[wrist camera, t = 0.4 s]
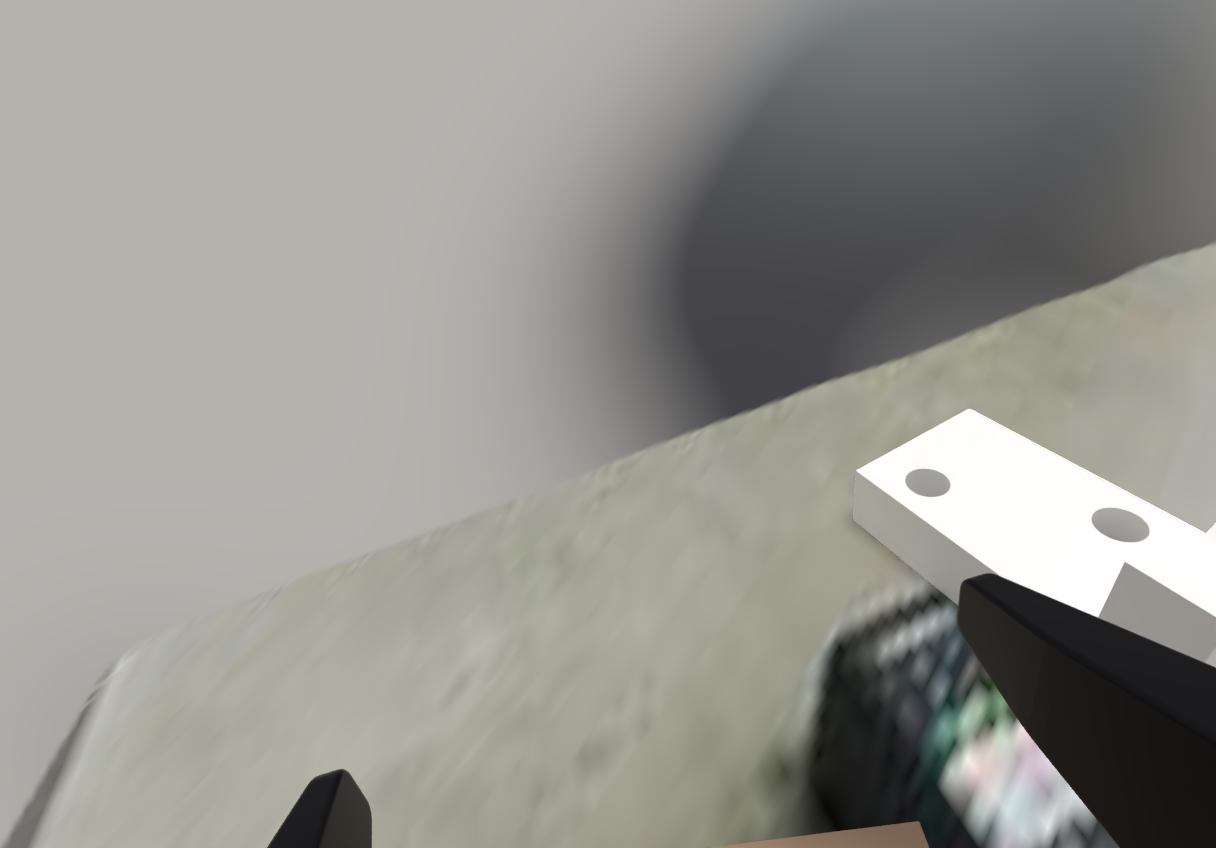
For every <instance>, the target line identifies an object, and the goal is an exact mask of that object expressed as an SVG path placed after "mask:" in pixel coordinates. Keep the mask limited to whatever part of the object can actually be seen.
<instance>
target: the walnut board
mask: <svg viewBox="0 0 1216 848" xmlns="http://www.w3.org/2000/svg"><path fill="white" fill-rule="evenodd" d="M709 848H929V846H928V843H927V841H926V838H925V836H924V833H923V831H922V828H921V826H920V823H919V821H918V822H910V823H902V824H893V825H885V826H877V827H869V828H861V829H853V830H845V831H837V832H829V833H821V834H813V835H805V836H797V837H789V838H781V839H773V840H765V841H757V842H749V843H741V844H733V845H725V846H717V847H709Z"/></svg>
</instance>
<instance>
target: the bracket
mask: <svg viewBox="0 0 1216 848" xmlns="http://www.w3.org/2000/svg"><path fill="white" fill-rule="evenodd" d="M852 520H854V521H855V522H856V523H857V524H858V525H860V526H861V527H862V528H863V529H865V530H866V531H867V532H868V533H870V534H871V535H872V536H873V537H874V538H876V539H877V540H878V541H879V542H881V543H882V544H883V545H884V546H886V547H887V548H888V549H889V550H890V551H892V552H893V553H894V554H895V555H897V556H898V557H899V558H900V559H901V560H903V561H904V562H905V563H906V564H908V565H909V566H910V567H911V568H913V569H914V570H915V571H916V572H917V573H919V574H920V575H921V576H922V577H924V578H925V579H926V580H927V581H929V582H930V583H931V584H932V585H933V586H935V587H936V588H937V589H938V590H940V591H941V592H942V593H943V594H945V595H946V596H947V597H948V598H949V599H951V600H952V601H953V602H954V603H956V604H957V605H958V602H959V592H960V585H961V583H962V582H963V581H964V580H965V579H967V578H971V577H974V576H977V575H981V574H984V573H992V574H996V575H999V576H1001V577H1003V578H1006V579H1008V580H1010V581H1013V582H1015V583H1018V584H1020V585H1022V586H1025V587H1027V588H1029V589H1032V590H1034V591H1036V592H1039V593H1041V594H1044V595H1046V596H1048V597H1051V598H1053V599H1055V600H1058V601H1060V602H1063V603H1065V604H1067V605H1070V606H1072V607H1074V608H1077V609H1079V610H1081V611H1084V612H1086V613H1089V614H1091V615H1093V616H1096V617H1098V618H1100V619H1103V620H1105V621H1107V622H1110V623H1112V624H1115V625H1117V626H1119V627H1122V628H1124V629H1126V630H1129V631H1131V632H1134V633H1136V634H1138V635H1141V636H1143V637H1145V638H1148V639H1150V640H1152V641H1155V642H1157V643H1160V644H1162V645H1164V646H1167V647H1169V648H1171V649H1174V650H1176V651H1178V652H1181V653H1183V654H1186V655H1188V656H1190V657H1193V658H1195V659H1197V660H1200V661H1202V662H1205V663H1207V664H1209V665H1212V666H1214V667H1216V523H1215V524H1214V525H1213V526H1212V527H1211V528H1210V530H1209V531H1208V532H1207V533H1205V532H1203V531H1201V530H1199V529H1197V528H1195V527H1193V526H1191V525H1189V524H1187V523H1186V522H1184V521H1182V520H1180V519H1178V518H1176V517H1174V516H1172V515H1170V514H1169V513H1167V512H1165V511H1163V510H1161V509H1159V508H1157V507H1155V506H1153V505H1152V504H1150V503H1148V502H1146V501H1144V500H1142V499H1140V498H1138V497H1136V496H1134V495H1133V494H1131V493H1129V492H1127V491H1125V490H1123V489H1121V488H1119V487H1117V486H1116V485H1114V484H1112V483H1110V482H1108V481H1106V480H1104V479H1102V478H1100V477H1098V476H1097V475H1095V474H1093V473H1091V472H1089V471H1087V470H1085V469H1083V468H1081V467H1080V466H1078V465H1076V464H1074V463H1072V462H1070V461H1068V460H1066V459H1064V458H1063V457H1061V456H1059V455H1057V454H1055V453H1053V452H1051V451H1049V450H1047V449H1045V448H1044V447H1042V446H1040V445H1038V444H1036V443H1034V442H1032V441H1030V440H1028V439H1027V438H1025V437H1023V436H1021V435H1019V434H1017V433H1015V432H1013V431H1011V430H1010V429H1008V428H1006V427H1004V426H1002V425H1000V424H998V423H996V422H994V421H992V420H991V419H989V418H987V417H985V416H983V415H981V414H979V413H977V412H975V411H974V410H972V409H970V408H969V409H967V410H966V411H964V412H962V413H960V414H958V415H956V416H955V417H953V418H951V419H949V420H947V421H945V422H944V423H942V424H940V425H938V426H936V427H934V428H933V429H931V430H929V431H927V432H925V433H924V434H922V435H920V436H918V437H916V438H914V439H913V440H911V441H909V442H907V443H905V444H903V445H902V446H900V447H898V448H896V449H894V450H893V451H891V452H889V453H887V454H885V455H883V456H882V457H880V458H878V459H876V460H874V461H872V462H871V463H869V464H867V465H865V466H863V467H862V468H860V469H858V470H856V475H855V490H854V504H853V519H852Z"/></svg>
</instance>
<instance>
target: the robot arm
mask: <svg viewBox="0 0 1216 848" xmlns="http://www.w3.org/2000/svg"><path fill="white" fill-rule="evenodd" d="M957 623H958V627H959V630H960V632H961V634H962V636H963V638H964V639H965V641H966V642H967V644H968V645H969V647H970V648H971V650H972V651H973V653H974V654H975V656H976V657H977V659H978V660H979V662H980V663H981V665H982V666H983V668H984V669H985V671H986V672H987V674H988V675H989V677H990V678H991V680H992V681H993V683H994V684H995V686H996V687H997V689H998V690H999V692H1000V693H1001V695H1002V696H1003V698H1004V699H1005V701H1006V702H1007V704H1008V705H1009V707H1010V708H1011V710H1012V711H1013V713H1014V714H1015V716H1016V717H1017V719H1018V720H1019V721H1020V723H1021V724H1022V726H1023V727H1024V729H1025V730H1026V731H1027V733H1028V734H1029V735H1030V737H1031V738H1032V739H1033V741H1034V742H1035V743H1036V744H1037V746H1038V747H1039V748H1040V750H1041V751H1042V752H1043V753H1044V754H1045V756H1046V757H1047V758H1048V759H1049V761H1050V762H1051V763H1052V764H1053V766H1054V767H1055V768H1056V769H1057V771H1058V772H1059V773H1060V774H1061V776H1062V777H1063V778H1064V779H1065V780H1066V782H1067V783H1068V784H1069V785H1070V787H1071V788H1072V789H1073V790H1074V792H1075V793H1076V794H1077V795H1078V797H1079V798H1080V799H1081V800H1082V802H1083V803H1084V804H1085V805H1086V806H1087V808H1088V809H1089V810H1090V811H1091V813H1092V814H1093V815H1094V816H1095V818H1096V819H1097V820H1098V821H1099V823H1100V824H1101V825H1102V826H1103V828H1104V829H1105V830H1106V831H1107V833H1108V834H1109V835H1110V836H1111V837H1112V839H1113V840H1114V841H1115V842H1116V844H1117V845H1118V846H1119V847H1120V848H1216V667H1214V666H1212V665H1209V664H1207V663H1205V662H1202V661H1200V660H1197V659H1195V658H1193V657H1190V656H1188V655H1186V654H1183V653H1181V652H1178V651H1176V650H1174V649H1171V648H1169V647H1167V646H1164V645H1162V644H1160V643H1157V642H1155V641H1152V640H1150V639H1148V638H1145V637H1143V636H1141V635H1138V634H1136V633H1134V632H1131V631H1129V630H1126V629H1124V628H1122V627H1119V626H1117V625H1115V624H1112V623H1110V622H1107V621H1105V620H1103V619H1100V618H1098V617H1096V616H1093V615H1091V614H1089V613H1086V612H1084V611H1081V610H1079V609H1077V608H1074V607H1072V606H1070V605H1067V604H1065V603H1063V602H1060V601H1058V600H1055V599H1053V598H1051V597H1048V596H1046V595H1044V594H1041V593H1039V592H1036V591H1034V590H1032V589H1029V588H1027V587H1025V586H1022V585H1020V584H1018V583H1015V582H1013V581H1010V580H1008V579H1006V578H1003V577H1001V576H999V575H996V574H992V573H984V574H981V575H977V576H974V577H971V578H967V579H965V580H964V581H963V582H962V583H961V585H960V592H959V602H958V611H957ZM267 848H372V817H371V810H370V806H369V803H368V801H367V799H366V798H365V796H364V795H363V793H362V792H361V790H360V789H359V787H358V785H357V784H356V782H355V781H354V779H353V778H352V776H351V775H350V773H349V772H348V771H346V770H344V769H339V770H335V771H332V772H329V773H326V774H322V775H319V776H317V777H315V778H314V779H313V780H312V781H311V782H310V783H309V784H308V785H307V787H306V788H305V790H304V791H303V793H302V794H301V796H300V798H299V799H298V801H297V802H296V804H295V805H294V807H293V808H292V810H291V812H290V813H289V815H288V816H287V818H286V819H285V821H284V822H283V824H282V825H281V827H280V829H279V830H278V832H277V833H276V835H275V836H274V838H273V839H272V841H271V842H270V844H269V846H268V847H267Z"/></svg>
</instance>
